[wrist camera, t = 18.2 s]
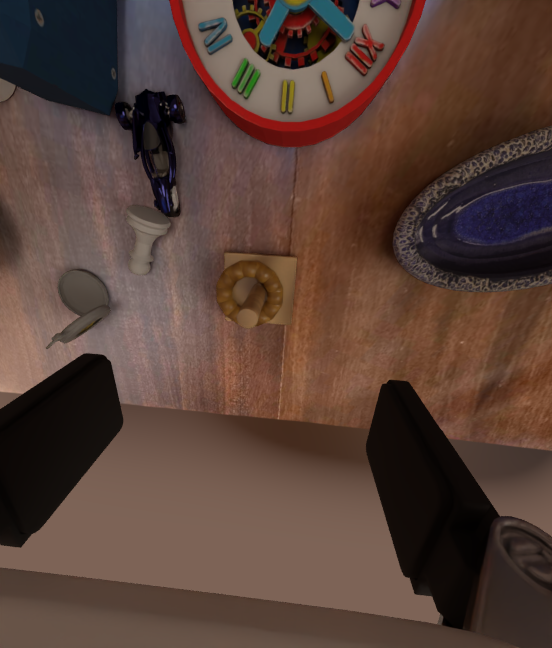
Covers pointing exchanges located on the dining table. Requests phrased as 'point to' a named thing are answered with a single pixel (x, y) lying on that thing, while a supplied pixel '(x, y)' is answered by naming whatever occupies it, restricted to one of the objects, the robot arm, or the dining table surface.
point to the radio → (61, 50)
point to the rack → (263, 288)
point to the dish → (484, 221)
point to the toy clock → (295, 60)
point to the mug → (6, 89)
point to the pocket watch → (81, 303)
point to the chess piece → (144, 235)
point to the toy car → (155, 142)
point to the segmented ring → (252, 271)
